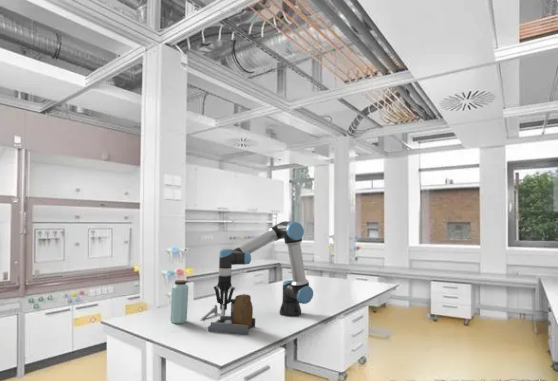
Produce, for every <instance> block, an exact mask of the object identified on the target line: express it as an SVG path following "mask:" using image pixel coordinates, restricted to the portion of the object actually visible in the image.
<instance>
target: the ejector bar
mask: <svg viewBox="0 0 558 381" xmlns="http://www.w3.org/2000/svg"><path fill="white" fill-rule="evenodd" d="M230 303H231V304H230V316H231V320H230V321H228V320H226V321H225V323H227V324H233V315H234V303H235V298H231V300H230Z"/></svg>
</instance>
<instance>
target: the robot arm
mask: <svg viewBox="0 0 558 381" xmlns="http://www.w3.org/2000/svg"><path fill="white" fill-rule="evenodd" d="M304 234H305V229H304V227H303V225H302V224H301V223H299V222H298V221H282V222H279V223H277V224H275V225H274V226H272V227H270V228H269V229H268V230H267V231H265V232H264V233H262V234H259V235H258V236H256V237H255V238H253V239H251V240H249V241H247V242H245V243H243V244H242V245H240V246H237V247H236V248H234V249H232V248H221V249H220V250H219V259H218V263H219V264H218V280H217V284H216V285H215V286H213V289H214V291H215V297H216V303H217V304H219V309H220V312H221V313H220V316H226V311H227V309H228V304H230V303H231V302H230V300H231V299H233V298H232V297H233V294H234V291H235V289H236V287H235V286H232V284H233V283H232V270H233V269H232V266H237V265H239V266H240V265H244V266H245V265H250V264H251V261H252V256H251V255H252V253H254V252H256V251H257V250H260V249H261V248H263V247H265V246H267V245H269V244H270V243H272V242H277V241H278V240H281V239H282V240H284V245H287V252H288V256H289V264H290V269H291V271H290V272H291V277H292V279H288V280H287V279H286V280H284V281H283V282H282V300H281V301H282V302H281V305H280V308H279V314H280V315H281V316H284V317H293V318H294V317H300V316H302V308H301V305H300V304H303V305H305V304H306V305H307V304H308V303H310V302H311V301H312V299H313V297H314V290H313V288H312V287H311V286H310V282H309V280H308V279H307V278H306V272H305V264H304V260H303V253H302V246H301V243H302V241H303V236H304ZM219 290H220V291H219ZM229 290H230V291H229Z"/></svg>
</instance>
